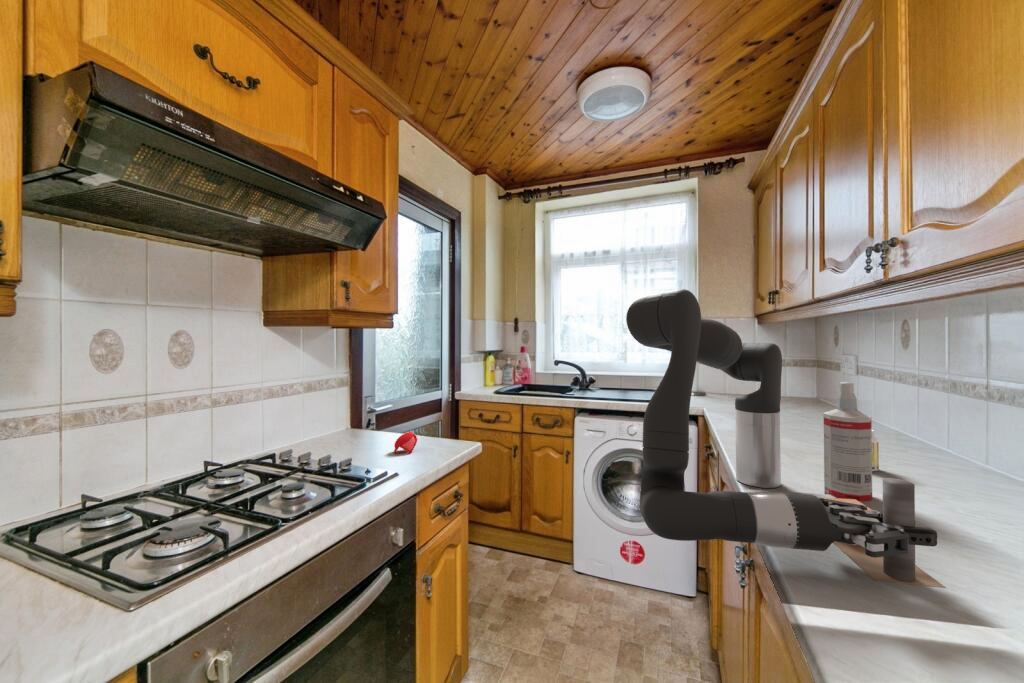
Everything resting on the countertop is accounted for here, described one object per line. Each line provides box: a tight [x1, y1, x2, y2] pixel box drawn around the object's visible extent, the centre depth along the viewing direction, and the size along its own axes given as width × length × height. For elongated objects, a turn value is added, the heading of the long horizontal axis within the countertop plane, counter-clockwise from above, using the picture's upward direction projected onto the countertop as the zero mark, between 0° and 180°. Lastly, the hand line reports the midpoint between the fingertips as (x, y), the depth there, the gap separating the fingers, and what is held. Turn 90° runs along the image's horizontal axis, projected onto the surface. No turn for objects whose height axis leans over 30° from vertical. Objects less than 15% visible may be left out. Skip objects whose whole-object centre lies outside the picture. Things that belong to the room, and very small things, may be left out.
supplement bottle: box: [872, 429, 880, 472], centre depth 104 cm, size 6×6×10 cm
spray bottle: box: [823, 381, 873, 502], centre depth 84 cm, size 8×8×25 cm
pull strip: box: [832, 477, 947, 589], centre depth 65 cm, size 22×8×14 cm, turn 167°
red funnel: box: [393, 431, 418, 454], centre depth 127 cm, size 8×6×6 cm
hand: (922, 530), depth 55 cm, fingers closed on pull strip, 3 cm apart
